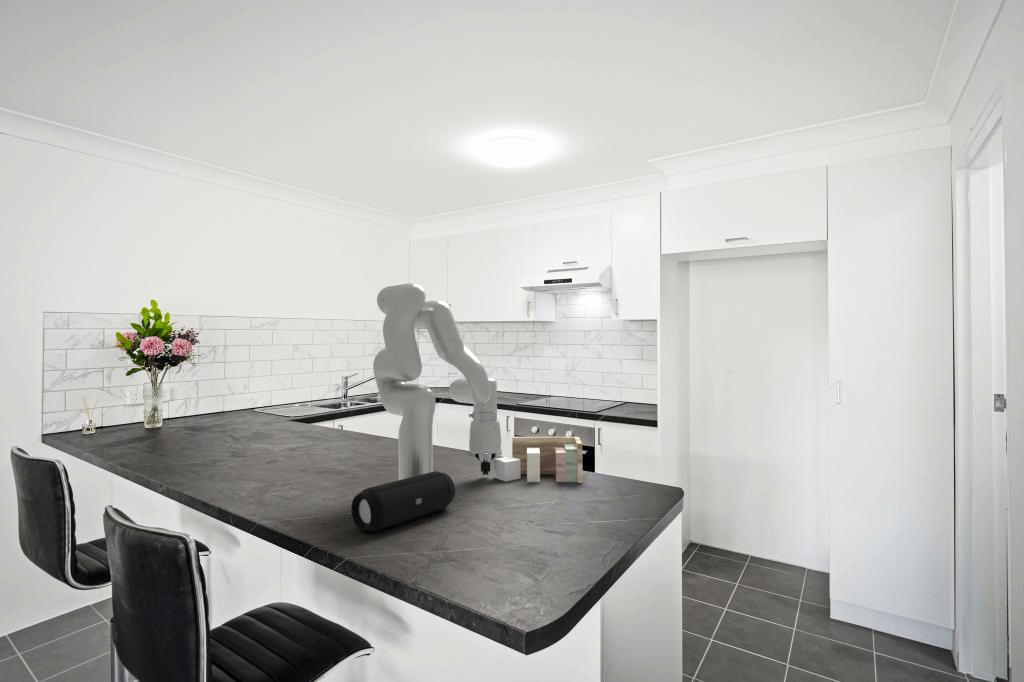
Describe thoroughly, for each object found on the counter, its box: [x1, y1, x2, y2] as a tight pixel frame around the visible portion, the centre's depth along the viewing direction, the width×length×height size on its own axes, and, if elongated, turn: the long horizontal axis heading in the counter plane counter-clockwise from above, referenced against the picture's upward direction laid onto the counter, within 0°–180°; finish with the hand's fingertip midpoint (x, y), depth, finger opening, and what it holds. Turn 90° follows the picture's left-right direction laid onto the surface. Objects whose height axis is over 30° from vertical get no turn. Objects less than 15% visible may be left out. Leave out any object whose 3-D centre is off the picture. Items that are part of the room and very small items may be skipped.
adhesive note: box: [493, 456, 522, 482], centre depth 170 cm, size 6×6×6 cm
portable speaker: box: [351, 470, 456, 533], centre depth 130 cm, size 26×10×10 cm, turn 140°
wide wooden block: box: [511, 436, 584, 484], centre depth 170 cm, size 12×22×12 cm, turn 88°
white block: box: [526, 447, 541, 483], centre depth 169 cm, size 9×4×9 cm, turn 178°
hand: (485, 473), depth 170 cm, fingers closed
